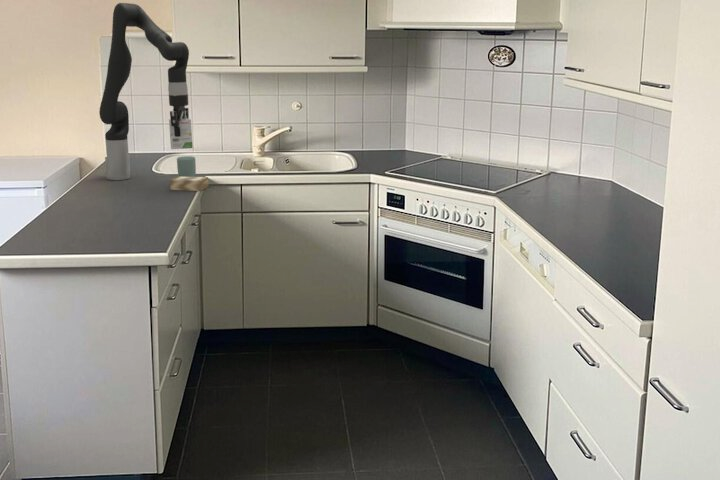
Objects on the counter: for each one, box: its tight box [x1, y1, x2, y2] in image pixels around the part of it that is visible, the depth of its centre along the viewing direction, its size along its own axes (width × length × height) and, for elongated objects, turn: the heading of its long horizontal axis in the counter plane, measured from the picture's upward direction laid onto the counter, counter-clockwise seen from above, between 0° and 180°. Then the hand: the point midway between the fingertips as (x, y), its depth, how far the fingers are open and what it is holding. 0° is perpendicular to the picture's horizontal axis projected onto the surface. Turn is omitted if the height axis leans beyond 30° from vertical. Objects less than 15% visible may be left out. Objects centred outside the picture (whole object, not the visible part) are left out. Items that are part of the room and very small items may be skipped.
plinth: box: [169, 176, 210, 192], centre depth 352 cm, size 13×9×4 cm
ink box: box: [168, 118, 194, 150], centre depth 346 cm, size 8×5×12 cm, turn 105°
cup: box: [176, 155, 197, 177], centre depth 368 cm, size 8×8×10 cm
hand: (180, 135), depth 346 cm, fingers closed on ink box, 6 cm apart
